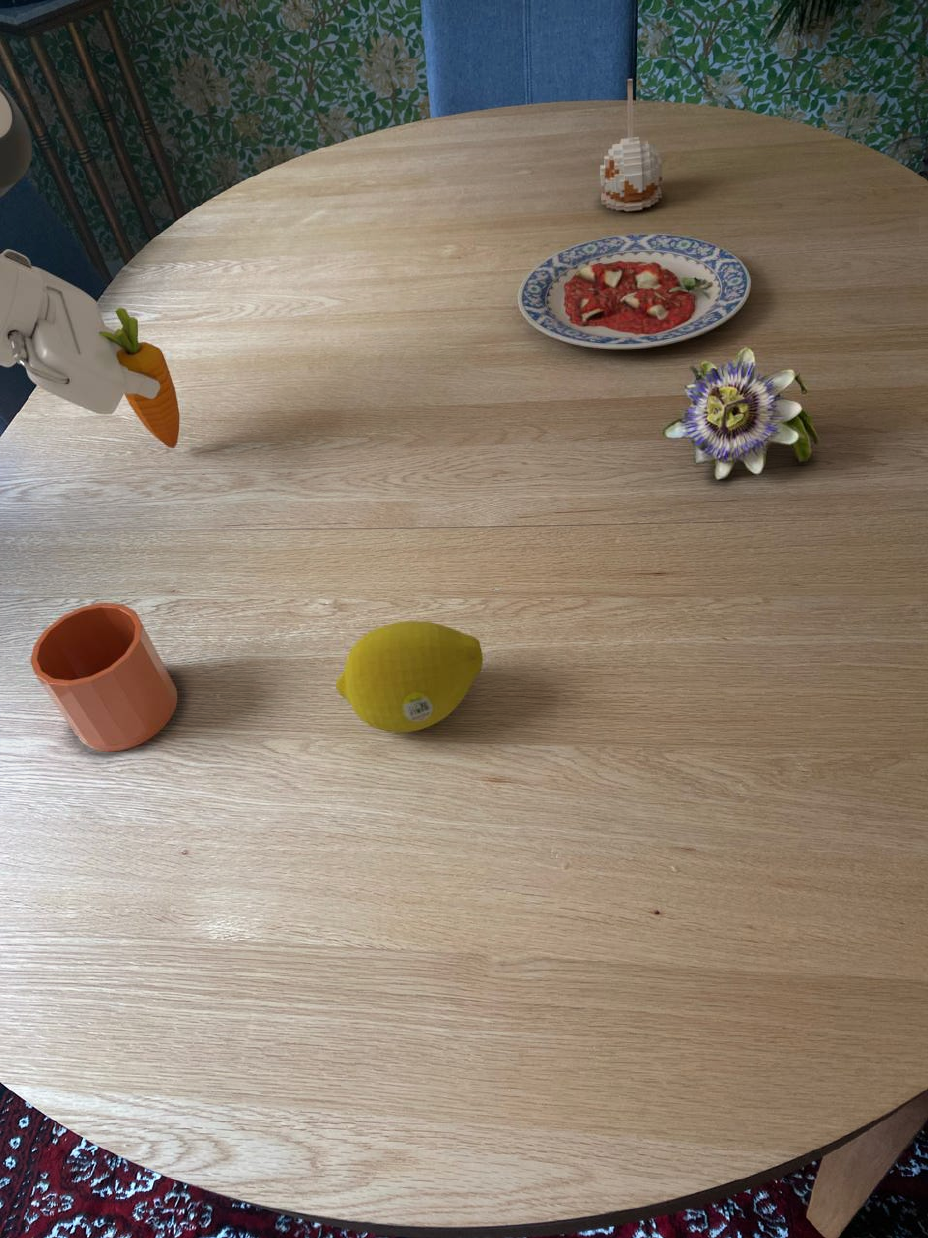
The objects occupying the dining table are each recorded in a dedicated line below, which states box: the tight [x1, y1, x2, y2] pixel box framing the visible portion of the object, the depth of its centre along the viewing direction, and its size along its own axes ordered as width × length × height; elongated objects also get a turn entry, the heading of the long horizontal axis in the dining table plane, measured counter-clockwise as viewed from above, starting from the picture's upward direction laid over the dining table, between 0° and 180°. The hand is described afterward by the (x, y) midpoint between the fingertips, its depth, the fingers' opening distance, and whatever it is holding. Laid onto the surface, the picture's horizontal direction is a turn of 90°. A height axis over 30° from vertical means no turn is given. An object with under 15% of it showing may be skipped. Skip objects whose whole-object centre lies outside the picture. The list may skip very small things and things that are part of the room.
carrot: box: [99, 307, 180, 449], centre depth 96 cm, size 5×5×15 cm
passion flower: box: [662, 345, 820, 481], centre depth 88 cm, size 11×11×12 cm
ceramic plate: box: [517, 233, 752, 350], centre depth 111 cm, size 26×26×3 cm
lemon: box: [335, 620, 484, 734], centre depth 71 cm, size 11×8×8 cm
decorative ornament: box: [599, 78, 663, 212], centre depth 125 cm, size 8×8×15 cm
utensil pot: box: [30, 602, 178, 753], centre depth 75 cm, size 8×8×8 cm
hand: (150, 374), depth 96 cm, fingers closed on carrot, 5 cm apart
